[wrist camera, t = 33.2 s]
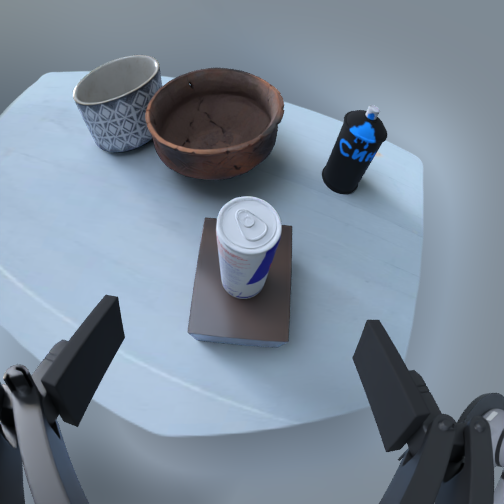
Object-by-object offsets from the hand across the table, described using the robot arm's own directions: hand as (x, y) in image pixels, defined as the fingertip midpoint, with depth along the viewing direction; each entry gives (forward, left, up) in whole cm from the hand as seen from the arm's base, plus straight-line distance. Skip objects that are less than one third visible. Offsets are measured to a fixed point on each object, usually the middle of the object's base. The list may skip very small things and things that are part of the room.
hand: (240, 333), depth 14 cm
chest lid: (+10, -1, -22) cm, 24 cm away
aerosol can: (+34, -23, -31) cm, 51 cm away
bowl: (+40, +3, -31) cm, 50 cm away
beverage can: (+10, -1, -21) cm, 23 cm away
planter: (+51, +24, -31) cm, 64 cm away
